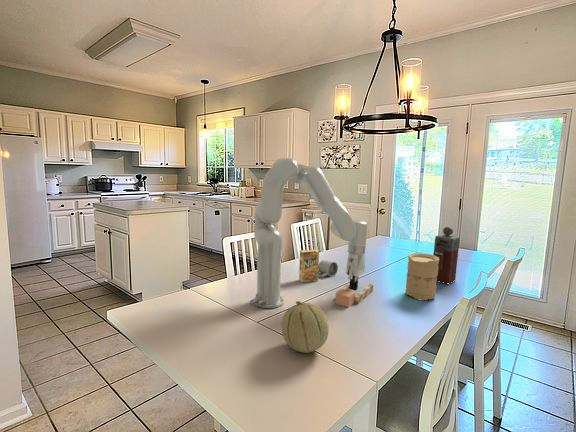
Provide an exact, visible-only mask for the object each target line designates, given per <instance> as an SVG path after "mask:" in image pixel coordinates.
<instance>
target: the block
mask: <svg viewBox="0 0 576 432" xmlns="http://www.w3.org/2000/svg"><path fill="white" fill-rule="evenodd" d="M340 289H341V290H340ZM340 289H339V290H340V291H339V290H338V292H336V293H335V305H339V306H343V307H346V308H350V307H351V306H352V305H354V304H355V296H356V292H355V291H353V290H352V291H348V290H344V289H342V288H340Z"/></svg>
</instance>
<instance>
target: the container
mask: <svg viewBox="0 0 576 432" xmlns="http://www.w3.org/2000/svg"><path fill="white" fill-rule="evenodd" d="M438 264H439V258H438V257H436V256H434V254H431V253H426V252H425V253H424V252H423V253H422V252H413V253H410V254H408V262H407V272H406V282H405V283H406V284H405V295H406V294H407V295H409V297H412V298H414V299H415V300H416V299H421V300H420V301H423V300H425V301H428V299H429V300H433V299H435V297H436V293H437V283H438V282H437V278H436V277H437V276H438ZM407 295H406V296H407Z"/></svg>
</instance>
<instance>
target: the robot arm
mask: <svg viewBox="0 0 576 432" xmlns="http://www.w3.org/2000/svg"><path fill="white" fill-rule="evenodd" d="M325 176H326V175H325V174H324V172H323V171H322V169H320V167H317V166H314V165H306V164H301V163H298V162H297V161H296V160H294V158H292V157H291V158H290V157H282V158H278V159H277V160H275V161H274V163H273V164H272V166H271V167H270V168H269V169H268V171H267V172H266V173H265V176H264V178H263V181H262V185H261V194H260V196H261V197H260V200H259V201H258V203H257V205H256V207H255V212H254V230H253V232H254V233H253V235H254V239H255V241H256V243H257V259H256V262H257V263H256V266H257V267H256V271H257V273H256V276H257V277H256V282H257V283H256V294H255V297H253V298H252V299H250V303H249V304H250V305H252V306H253V305H255V306H256V307H258V308H261V309H275V308H276V309H277V308H279V307H281V306H283V305H284V304H285V303H284V301H285V300H284V298H283V297H282V296H281V275H282V274H281V261H282V250H283V239H282V235H281V233H280V232H279V230H278V229H277V224H278V223H279V222H280V220H281V219H282V215H283V197H284V196H283V195H284V190H285V186H286V185H287V183H288V182H290V183H293V184H298V185H301V186H305V187H306V189H307V190H308V192H309V193H310V196H311V197H312V199H313V201H314V203H315V204H316V206H317V207H318V209H320V211H321V212H323V213H324V214H325V215H326V216H327V217H328V218H329V220H330V221H331V223H330V227H329V228H330V229H329V230H330V232H331V234H333V235H334V236H335V237H337V238H339V239H341V240H343V241H345V242H348V244H347V252H348V255H347V262H346V269H345V270H346V272H345V273H346V275H348V280H349V283H350V286H349V289H351V290H352V291H354V292H355V291H357V290H358V287H359V278H360V275H362V274H364V273H365V264H366V255H365V254H366V249H367V248H366V247H367V236H368V223H367V222H366V221H363V220H353V218H352V217H351V215H350V213H349V212H348V210H347V209H346V208H345V207H344V205H343V204H342V202H341V201H340V200H339V199H338V198H337V196H336V194H335V193H334V191H333V189H332V187H331V185H330V184H329V181H328V180H327V178H326V177H325Z"/></svg>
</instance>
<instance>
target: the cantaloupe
mask: <svg viewBox="0 0 576 432" xmlns="http://www.w3.org/2000/svg"><path fill="white" fill-rule="evenodd" d="M281 319H282V320H281V332H282V333H281V334H282V337H283V339H284V342H285V343H286V345H288V346H289V347H290V348H291V349H292V350H294V351H296V352H298V353H299V352H300V353H302V354H303V353H305V354H308V353H312V352H315V351H317V350H319V349H320V348H322V347H323V345H324V344H325V343H326V341H327V339H328V337H329V331H330V329H329V322H328V318H327V317H326V314H325V312H324V311H323V310H322V309H321V307H319V306H318V305H316V304H315V303H314V304H313V303H311V302H301V301H299V300H297V301H296V302H295V304H294V305H292V306H291V307H288V309H287V310H286V311H285V312H284V314H283V316H282V318H281Z"/></svg>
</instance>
